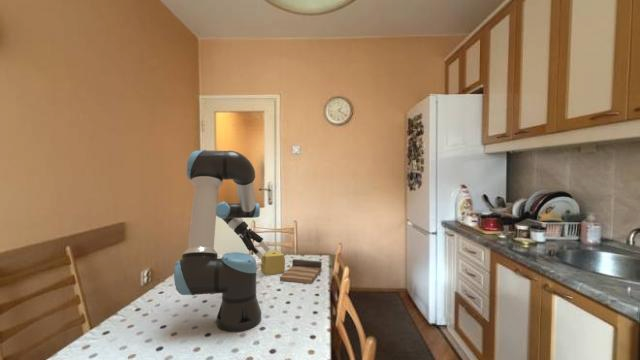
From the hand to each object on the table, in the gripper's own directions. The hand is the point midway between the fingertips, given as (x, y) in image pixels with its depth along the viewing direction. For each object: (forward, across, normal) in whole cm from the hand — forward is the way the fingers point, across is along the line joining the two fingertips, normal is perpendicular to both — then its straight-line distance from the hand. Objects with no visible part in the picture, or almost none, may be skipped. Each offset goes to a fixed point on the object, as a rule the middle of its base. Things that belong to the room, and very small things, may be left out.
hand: (265, 253), depth 156 cm
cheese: (+10, +1, -4) cm, 10 cm away
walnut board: (+21, +6, +8) cm, 23 cm away
